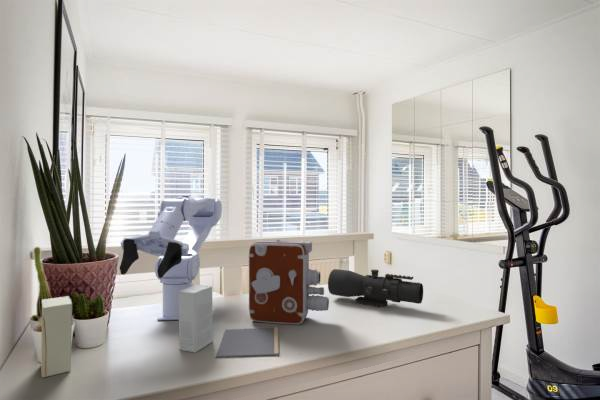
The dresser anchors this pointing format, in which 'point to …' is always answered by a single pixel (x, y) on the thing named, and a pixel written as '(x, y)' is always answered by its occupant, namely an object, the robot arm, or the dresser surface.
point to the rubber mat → (249, 343)
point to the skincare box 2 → (195, 317)
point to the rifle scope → (374, 288)
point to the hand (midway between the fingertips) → (140, 272)
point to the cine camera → (283, 282)
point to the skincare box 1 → (56, 336)
